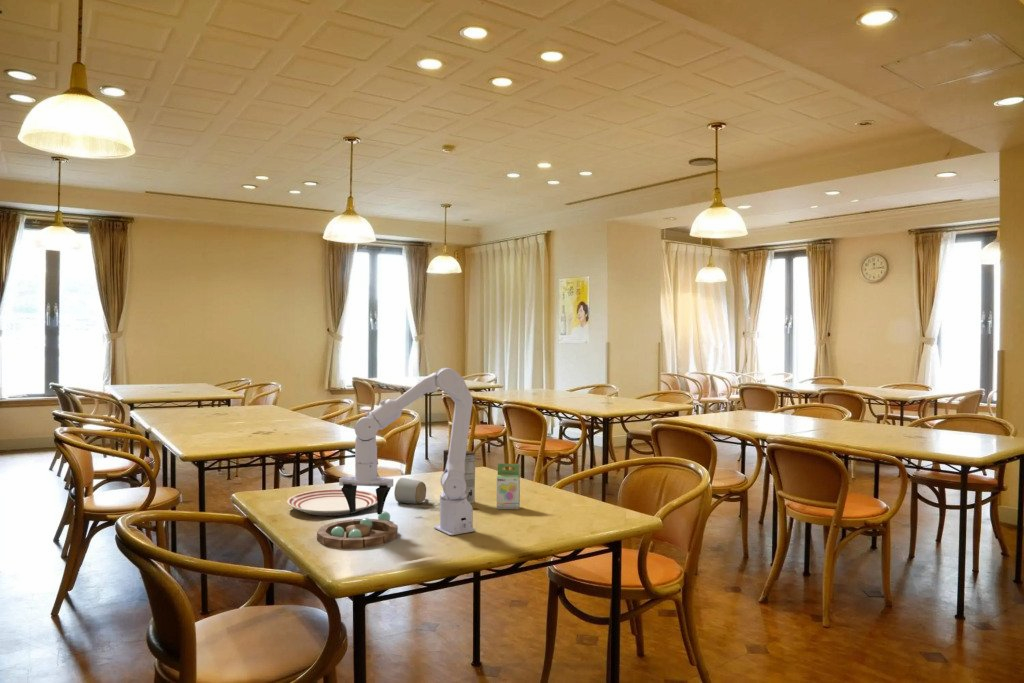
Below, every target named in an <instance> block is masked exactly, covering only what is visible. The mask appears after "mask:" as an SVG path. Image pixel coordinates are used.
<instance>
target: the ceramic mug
mask: <svg viewBox="0 0 1024 683" xmlns="http://www.w3.org/2000/svg"><path fill="white" fill-rule="evenodd" d="M393 494H394V499H395V501H396V502H397V503H402V504H413V505H420V504H422V503H423V502H424V501H425V499H426V497H427V485H426V484H425V483H424V481H421V480H417V479H412V478H407V477H400V478H399V479H397V482H396V483H395V486H394V493H393Z"/></svg>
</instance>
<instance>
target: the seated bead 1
mask: <svg viewBox="0 0 1024 683" xmlns="http://www.w3.org/2000/svg"><path fill="white" fill-rule="evenodd" d="M344 534H345V532H344V529H343V528H342V527H335V528H333V529H332V531H331V536H336V537H344Z"/></svg>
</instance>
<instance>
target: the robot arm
mask: <svg viewBox="0 0 1024 683" xmlns="http://www.w3.org/2000/svg"><path fill="white" fill-rule="evenodd" d="M438 388H439V389H440V391H442V392H443V393H445V394H447V396H448V397H449V398H450V399H451V400H452V401H453V402H454V409H453V415H452V422H451V423H452V424H451V432H450V440H449V447H448V450H449V453H448V460H447V463H446V468H445V471H444V470H443V472H444V473H442V474H441V477H440V485H441V488H442V492H440V494H439V524H437V525H433V529H436V530H438V531H440V532H442V533H444V534H446V535H448V536H455V535H461V534H462V535H463V534H466V533H467V534H468V533H471V532H473V533H474V532H476V528H474V526H473V525H474V523H473V521H474V519H473V518H474V515H473V514H474V510H473V506H472V503H469V502H468V501H467V498H466V493H465V491H466V482H465V479H464V474H465V456H466V451H467V449H468V448H467V447H468V438H469V431H470V422H471V417H472V411H473V410H472V409H473V402H474V401H473V395H472V393H471V392H470V390H469V389H470V388H468V386H467V383H466V382H465V379H464V378H463V376H462V375H460V373H458V372H457V371H456V370H455V369H453V368H451V367H448V366H446V367H445V366H444V367H441V368H439V369H438V370H437V371H436V372H435V371H434V372H433V373H430V374H429V375H427V376H426V377H425V376H424V377H423V378H422V379H421V380H419V381H418V382H417V383H416V384H415V385H413V386H411V387H410V388H409V389H408V390H406V391H405V392H404V393H402V394H401V395H399V396H398V397H397V398H396V399H394V398H393V399H391V398H388V399H386V400H385V399H382V400H381V401H380V403H379V405H378V406H377V407H375V408H374V409H372V410H371V411H367V412H365V415H366V416H362V417H360V418H359V419H358V420H357V421H356V423H355V427H354V432H355V435H356V436H355V446H354V449H355V450H354V451H355V453H354V455H355V456H354V460H355V461H354V463H355V464H354V466H355V469H354V470H355V473H354V476H342V477H340V478H339V479H338V481H339V482H338V483H339V484H338V485H339V486H342V487H341V489H342V492H343V494H344V496H345V498H346V500H347V503H348V506H349V510H350V514H354V512H355V511H356V490H358V489H357V488H358V487H362V486H364V487H376V488H375V494H376V495H377V503H376V512H377V515H380V514H381V513H383V511H384V508H385V507H384V506H385V503H386V499H387V497H388V496H389V492H390V490H391V488H392V487H394V478H389V477H388V478H386V477H379V476H378V445H377V434H378V431H382V430H384V429H385V428H386V427H388V426H389V425H391V424H392V423H394V422H395V421H397V420H398V419H399V418H400V417H402V413H403V412H402V411H403V409H405V408H406V407H408V406H410V405H411V404H412V403H414V402H415V401H416V400H418V399H419V398H421V397H423V396H424V395H426V394H428V393H437V392H438ZM355 513H356V512H355Z"/></svg>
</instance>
